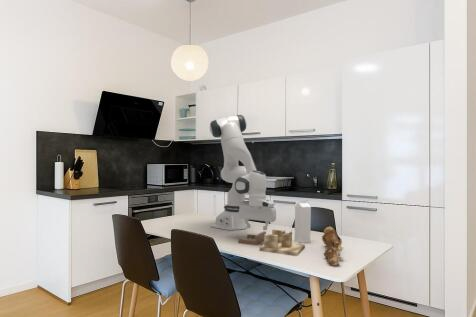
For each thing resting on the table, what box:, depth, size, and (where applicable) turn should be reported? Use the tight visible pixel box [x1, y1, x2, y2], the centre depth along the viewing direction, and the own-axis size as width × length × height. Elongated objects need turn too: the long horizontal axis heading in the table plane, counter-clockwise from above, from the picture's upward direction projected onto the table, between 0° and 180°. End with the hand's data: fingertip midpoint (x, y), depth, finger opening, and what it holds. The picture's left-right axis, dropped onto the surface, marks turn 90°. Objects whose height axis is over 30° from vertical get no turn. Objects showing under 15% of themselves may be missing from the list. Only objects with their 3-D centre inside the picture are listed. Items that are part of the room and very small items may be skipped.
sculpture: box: [321, 226, 343, 267], centre depth 150 cm, size 9×14×35 cm
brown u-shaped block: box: [238, 230, 267, 246], centre depth 172 cm, size 10×13×4 cm
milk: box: [294, 199, 312, 244], centre depth 174 cm, size 6×6×22 cm
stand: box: [259, 228, 306, 257], centre depth 158 cm, size 18×16×8 cm
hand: (256, 228), depth 169 cm, fingers open, 8 cm apart
